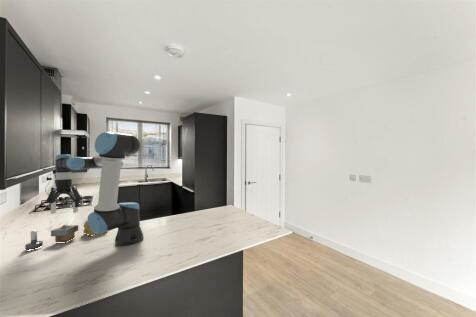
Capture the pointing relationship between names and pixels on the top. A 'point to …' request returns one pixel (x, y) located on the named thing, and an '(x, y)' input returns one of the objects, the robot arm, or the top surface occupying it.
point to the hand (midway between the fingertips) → (64, 212)
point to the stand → (64, 238)
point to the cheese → (87, 229)
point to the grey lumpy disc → (64, 230)
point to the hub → (33, 241)
